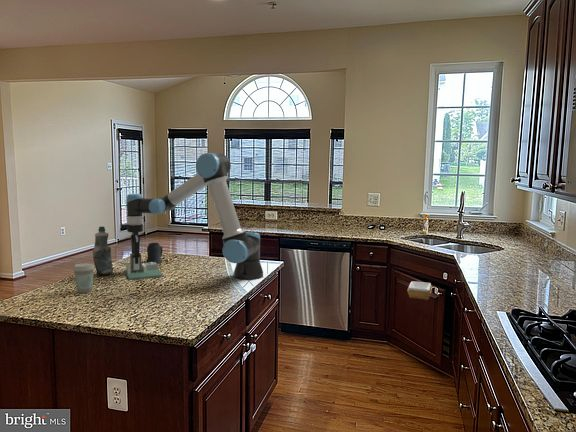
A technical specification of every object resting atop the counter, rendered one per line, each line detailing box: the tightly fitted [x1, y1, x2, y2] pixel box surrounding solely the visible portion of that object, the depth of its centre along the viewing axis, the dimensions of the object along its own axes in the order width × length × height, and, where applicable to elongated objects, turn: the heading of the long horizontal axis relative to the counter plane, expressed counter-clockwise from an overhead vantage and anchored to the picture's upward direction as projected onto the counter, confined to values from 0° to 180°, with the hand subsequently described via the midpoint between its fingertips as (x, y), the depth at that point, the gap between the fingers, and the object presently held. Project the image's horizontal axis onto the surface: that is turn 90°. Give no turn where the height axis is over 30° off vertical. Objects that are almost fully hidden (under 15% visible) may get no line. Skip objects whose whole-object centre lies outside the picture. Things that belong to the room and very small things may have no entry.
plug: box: [129, 252, 142, 270], centre depth 219 cm, size 4×5×8 cm
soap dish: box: [407, 281, 433, 301], centre depth 187 cm, size 12×10×5 cm
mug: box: [145, 242, 163, 265], centre depth 246 cm, size 12×9×11 cm
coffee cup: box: [72, 262, 96, 294], centre depth 186 cm, size 8×8×12 cm
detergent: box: [92, 226, 114, 276], centre depth 214 cm, size 13×7×25 cm, turn 164°
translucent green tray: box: [124, 262, 164, 281], centre depth 218 cm, size 20×16×6 cm
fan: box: [143, 262, 159, 270], centre depth 227 cm, size 6×6×3 cm
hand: (135, 268), depth 220 cm, fingers closed on plug, 4 cm apart
